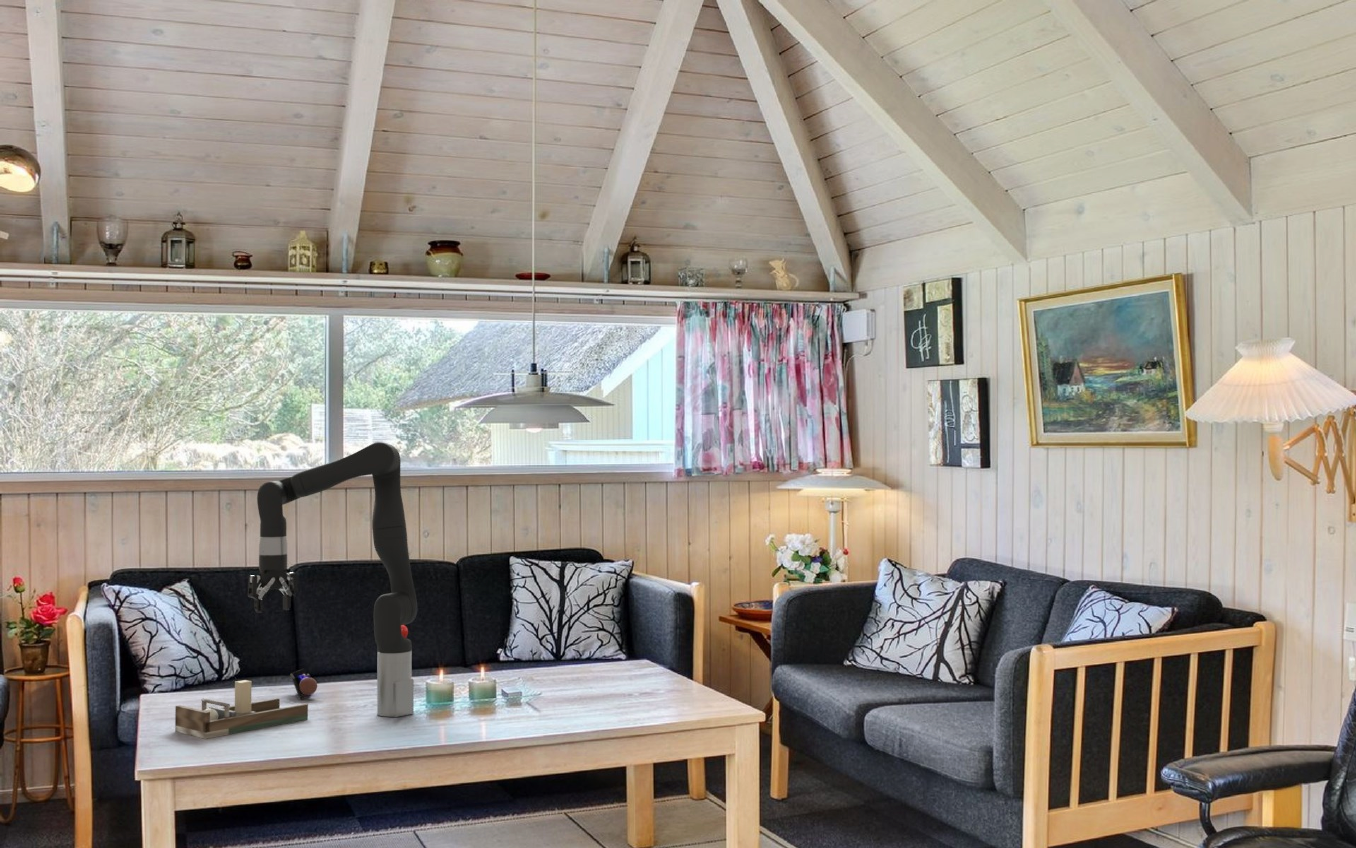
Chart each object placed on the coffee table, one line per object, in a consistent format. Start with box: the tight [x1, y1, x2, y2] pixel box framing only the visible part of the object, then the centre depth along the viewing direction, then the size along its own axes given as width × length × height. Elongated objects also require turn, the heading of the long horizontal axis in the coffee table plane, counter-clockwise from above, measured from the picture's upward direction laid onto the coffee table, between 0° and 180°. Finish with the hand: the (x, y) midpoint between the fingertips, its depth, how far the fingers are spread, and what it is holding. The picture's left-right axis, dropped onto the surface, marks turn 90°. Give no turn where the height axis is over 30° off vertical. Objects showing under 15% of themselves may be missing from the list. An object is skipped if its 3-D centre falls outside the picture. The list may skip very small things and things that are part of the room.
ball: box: [204, 707, 218, 721], centre depth 320 cm, size 4×4×4 cm
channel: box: [174, 697, 309, 740], centre depth 327 cm, size 14×30×8 cm, turn 141°
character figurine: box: [289, 668, 318, 701], centre depth 368 cm, size 8×7×15 cm
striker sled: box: [208, 679, 256, 719], centre depth 326 cm, size 11×9×10 cm
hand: (272, 611), depth 344 cm, fingers open, 8 cm apart
